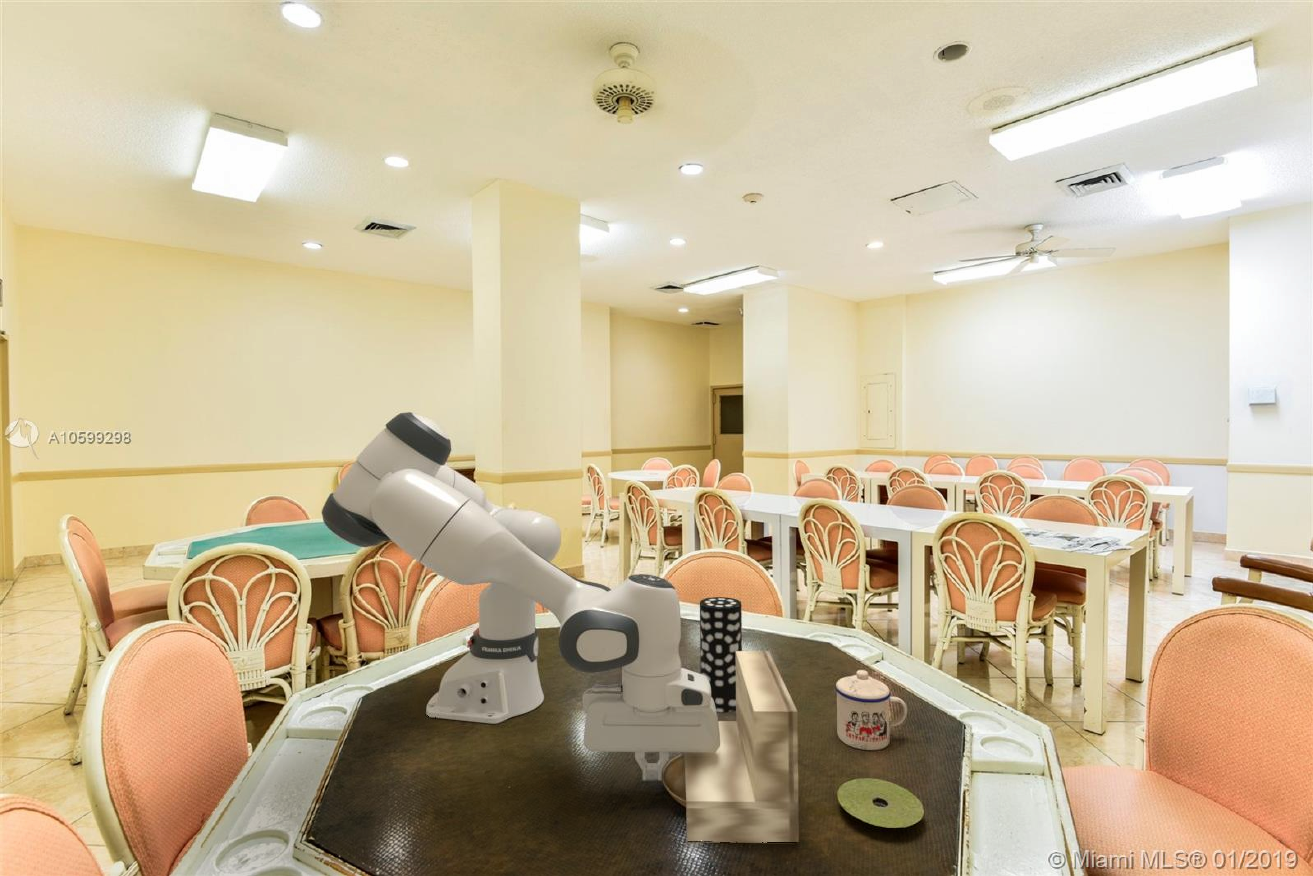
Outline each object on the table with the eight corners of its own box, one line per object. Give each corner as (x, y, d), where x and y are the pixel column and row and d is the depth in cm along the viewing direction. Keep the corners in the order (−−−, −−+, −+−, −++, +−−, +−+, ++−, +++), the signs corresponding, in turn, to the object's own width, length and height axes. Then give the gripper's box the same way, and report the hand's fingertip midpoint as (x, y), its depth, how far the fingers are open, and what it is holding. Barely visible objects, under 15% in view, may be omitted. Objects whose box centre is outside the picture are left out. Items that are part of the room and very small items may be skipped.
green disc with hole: (852, 842, 76) (852, 827, 76) (827, 791, 87) (827, 777, 87) (939, 841, 76) (939, 826, 76) (903, 790, 87) (902, 777, 87)
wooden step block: (686, 842, 76) (685, 711, 76) (683, 752, 98) (682, 651, 98) (798, 843, 76) (797, 711, 76) (770, 753, 98) (769, 651, 98)
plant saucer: (783, 804, 84) (783, 786, 84) (698, 839, 77) (697, 819, 77) (722, 756, 97) (722, 741, 97) (644, 783, 89) (644, 766, 90)
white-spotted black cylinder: (741, 714, 112) (740, 609, 112) (698, 710, 114) (697, 607, 114) (743, 695, 120) (742, 598, 120) (703, 692, 122) (702, 596, 122)
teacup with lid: (842, 751, 98) (841, 681, 98) (831, 725, 107) (830, 661, 107) (916, 753, 97) (915, 683, 97) (898, 727, 106) (897, 663, 106)
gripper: (579, 693, 84) (579, 790, 84) (721, 694, 84) (721, 791, 84) (585, 676, 91) (585, 766, 91) (717, 677, 90) (718, 767, 90)
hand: (652, 778), depth 87 cm, fingers closed
